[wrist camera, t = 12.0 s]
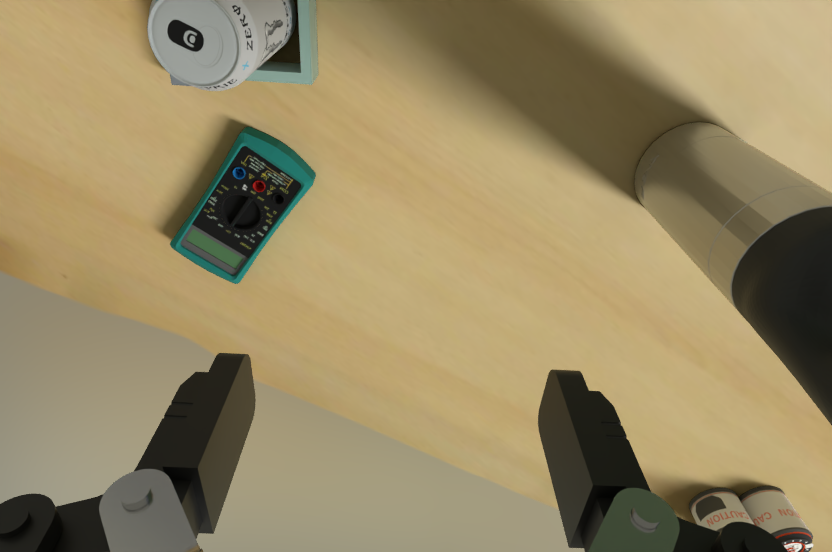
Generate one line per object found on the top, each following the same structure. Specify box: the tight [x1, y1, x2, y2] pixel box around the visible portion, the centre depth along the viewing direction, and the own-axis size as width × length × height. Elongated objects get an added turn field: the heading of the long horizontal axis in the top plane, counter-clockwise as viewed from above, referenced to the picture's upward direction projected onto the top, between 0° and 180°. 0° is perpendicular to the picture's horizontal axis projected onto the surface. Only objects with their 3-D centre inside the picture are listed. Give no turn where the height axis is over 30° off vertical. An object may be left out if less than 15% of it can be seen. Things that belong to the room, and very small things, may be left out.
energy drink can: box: [147, 0, 296, 91], centre depth 34 cm, size 6×6×15 cm
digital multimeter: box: [170, 127, 316, 284], centre depth 49 cm, size 7×15×3 cm, turn 141°
